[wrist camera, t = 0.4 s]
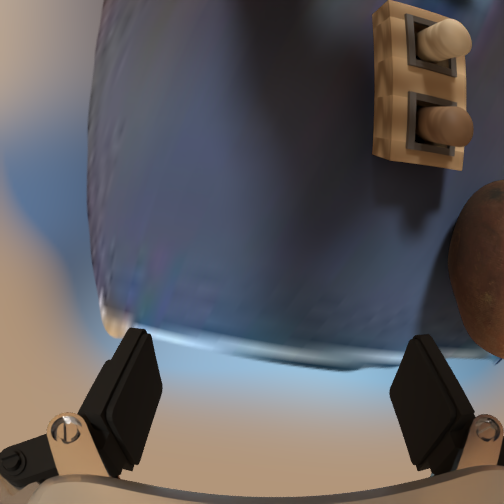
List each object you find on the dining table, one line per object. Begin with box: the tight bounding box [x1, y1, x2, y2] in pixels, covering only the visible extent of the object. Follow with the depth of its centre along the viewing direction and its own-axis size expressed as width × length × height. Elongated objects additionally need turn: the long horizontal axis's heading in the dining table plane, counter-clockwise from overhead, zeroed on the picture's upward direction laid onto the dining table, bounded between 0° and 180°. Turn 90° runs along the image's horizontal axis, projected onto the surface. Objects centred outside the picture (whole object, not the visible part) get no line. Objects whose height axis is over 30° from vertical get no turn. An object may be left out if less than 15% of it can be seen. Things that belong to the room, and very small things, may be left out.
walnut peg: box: [415, 106, 473, 147], centre depth 26 cm, size 4×4×7 cm
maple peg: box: [415, 19, 472, 63], centre depth 22 cm, size 4×4×7 cm
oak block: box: [372, 0, 466, 171], centre depth 29 cm, size 19×10×7 cm, turn 0°
